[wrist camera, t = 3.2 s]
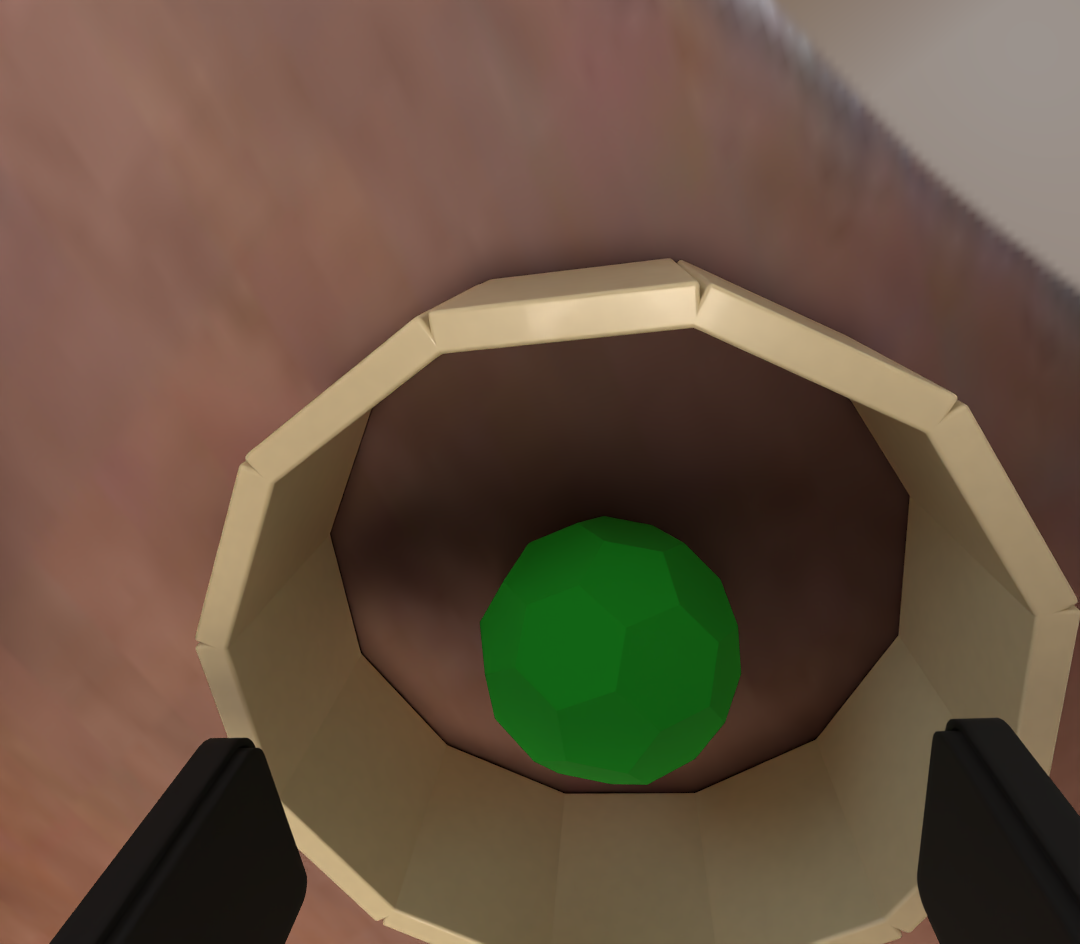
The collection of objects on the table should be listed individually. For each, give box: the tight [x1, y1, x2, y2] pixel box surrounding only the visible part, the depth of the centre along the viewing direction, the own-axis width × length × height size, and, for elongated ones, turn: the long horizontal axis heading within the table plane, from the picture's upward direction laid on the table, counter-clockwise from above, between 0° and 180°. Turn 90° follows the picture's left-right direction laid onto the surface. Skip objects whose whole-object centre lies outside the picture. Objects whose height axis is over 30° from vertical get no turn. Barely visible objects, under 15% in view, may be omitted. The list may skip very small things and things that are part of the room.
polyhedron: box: [480, 516, 741, 785], centre depth 13 cm, size 5×5×5 cm
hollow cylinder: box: [195, 258, 1080, 944], centre depth 13 cm, size 14×14×4 cm
